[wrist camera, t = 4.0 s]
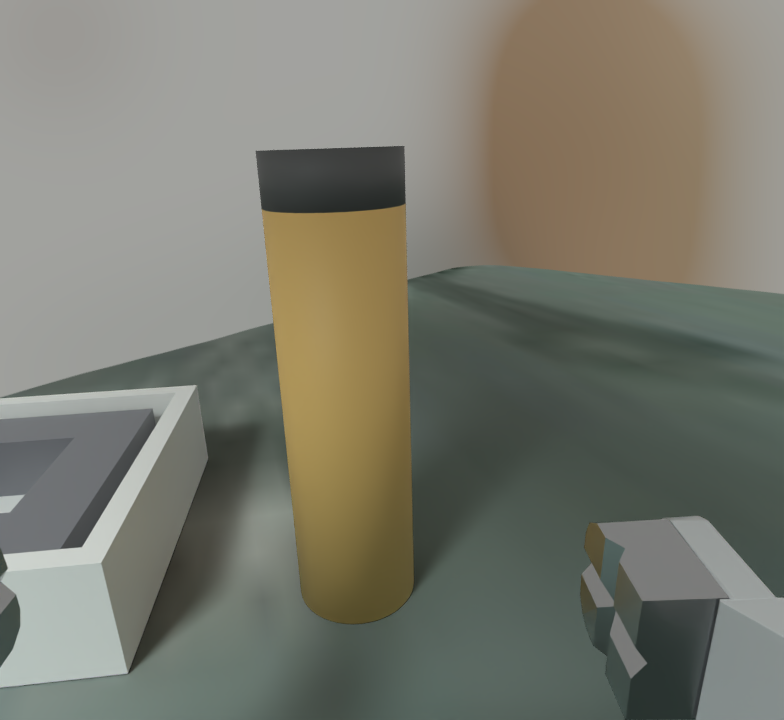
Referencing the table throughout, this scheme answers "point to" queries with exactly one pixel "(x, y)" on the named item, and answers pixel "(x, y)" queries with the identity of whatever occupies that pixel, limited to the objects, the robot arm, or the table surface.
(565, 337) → the table surface
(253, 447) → the table surface
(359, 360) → the cylinder
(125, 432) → the walled box
